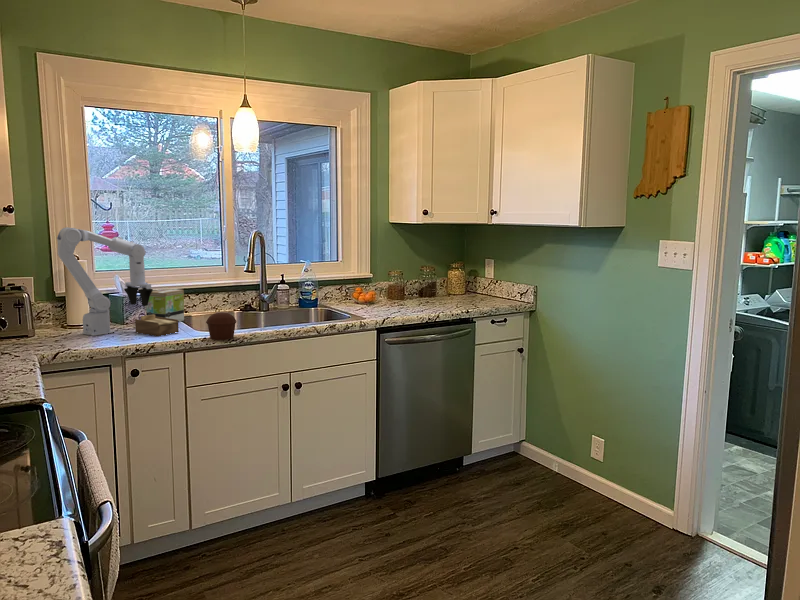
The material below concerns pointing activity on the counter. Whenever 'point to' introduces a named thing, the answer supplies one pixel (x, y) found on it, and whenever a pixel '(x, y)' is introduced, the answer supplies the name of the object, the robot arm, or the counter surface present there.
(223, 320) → the muffin
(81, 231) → the robot arm
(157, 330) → the box
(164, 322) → the lid
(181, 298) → the tea box
